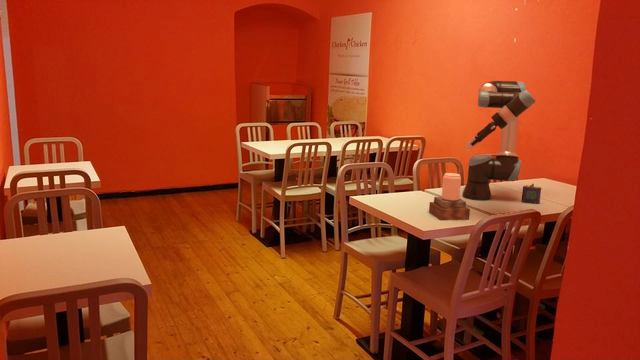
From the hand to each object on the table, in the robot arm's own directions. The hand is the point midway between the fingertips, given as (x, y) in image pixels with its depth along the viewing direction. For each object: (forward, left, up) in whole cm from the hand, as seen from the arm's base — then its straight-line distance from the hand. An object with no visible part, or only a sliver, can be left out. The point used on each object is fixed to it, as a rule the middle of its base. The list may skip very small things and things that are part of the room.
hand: (466, 147), depth 249 cm
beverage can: (+9, +6, -24) cm, 26 cm away
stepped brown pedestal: (+9, +6, -32) cm, 34 cm away
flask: (-48, -15, -32) cm, 60 cm away
